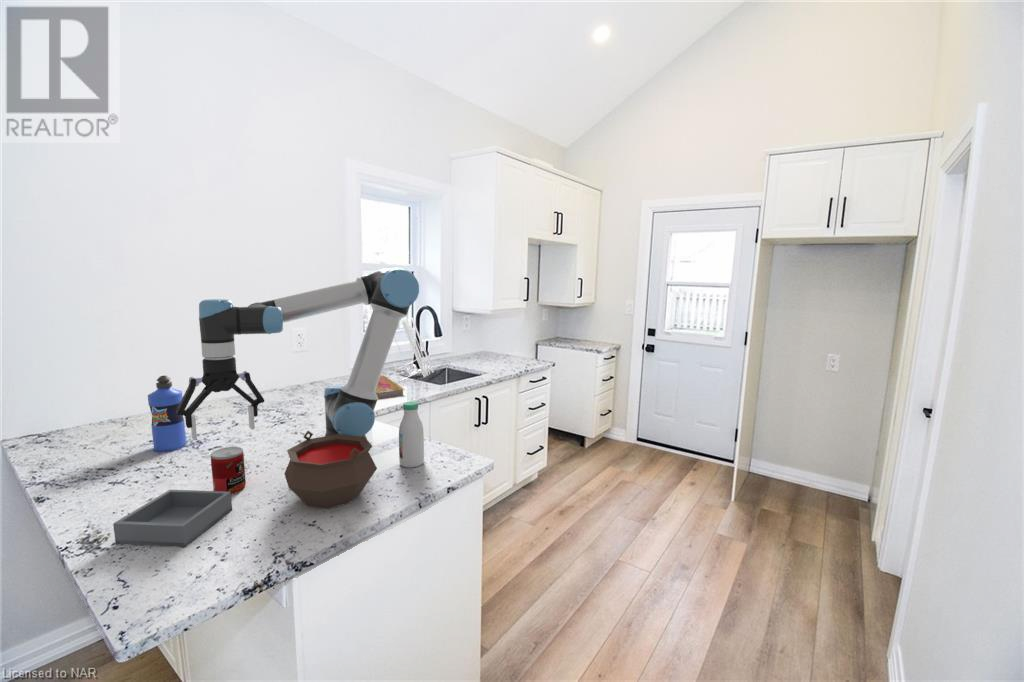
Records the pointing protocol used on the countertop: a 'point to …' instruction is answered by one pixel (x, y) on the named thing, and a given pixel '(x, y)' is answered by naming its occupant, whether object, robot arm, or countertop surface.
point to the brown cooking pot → (329, 469)
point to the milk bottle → (411, 437)
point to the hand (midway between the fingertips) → (224, 433)
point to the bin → (173, 518)
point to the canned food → (228, 469)
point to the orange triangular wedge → (389, 384)
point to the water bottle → (166, 417)
